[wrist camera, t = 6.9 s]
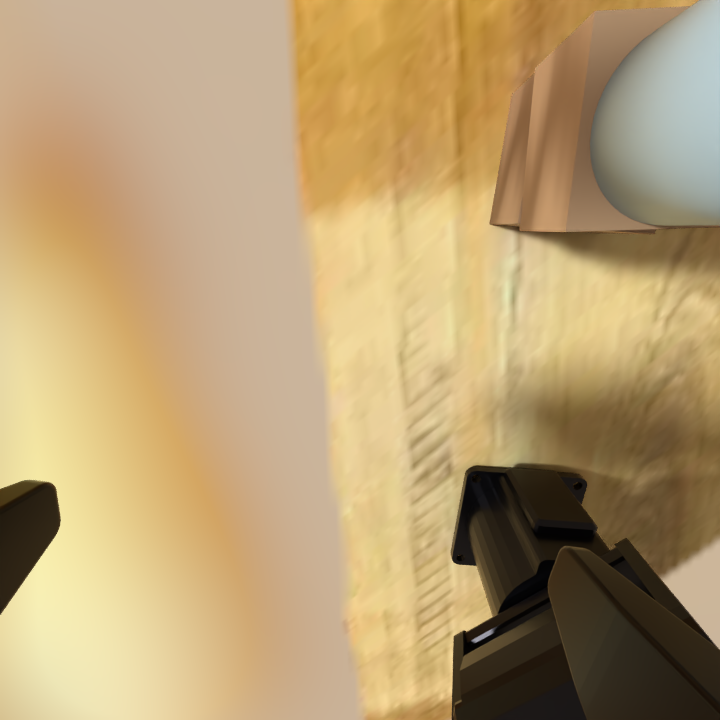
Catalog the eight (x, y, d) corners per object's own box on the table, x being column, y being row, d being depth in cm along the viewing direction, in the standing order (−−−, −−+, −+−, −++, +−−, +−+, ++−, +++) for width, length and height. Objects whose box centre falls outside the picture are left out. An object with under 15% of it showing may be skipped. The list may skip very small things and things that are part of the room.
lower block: (600, 232, 17) (654, 234, 14) (489, 224, 17) (517, 223, 14) (633, 104, 16) (703, 71, 12) (511, 94, 16) (549, 59, 12)
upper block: (659, 226, 14) (749, 226, 11) (519, 231, 14) (565, 232, 11) (693, 61, 12) (811, 0, 9) (535, 68, 13) (594, 11, 9)
